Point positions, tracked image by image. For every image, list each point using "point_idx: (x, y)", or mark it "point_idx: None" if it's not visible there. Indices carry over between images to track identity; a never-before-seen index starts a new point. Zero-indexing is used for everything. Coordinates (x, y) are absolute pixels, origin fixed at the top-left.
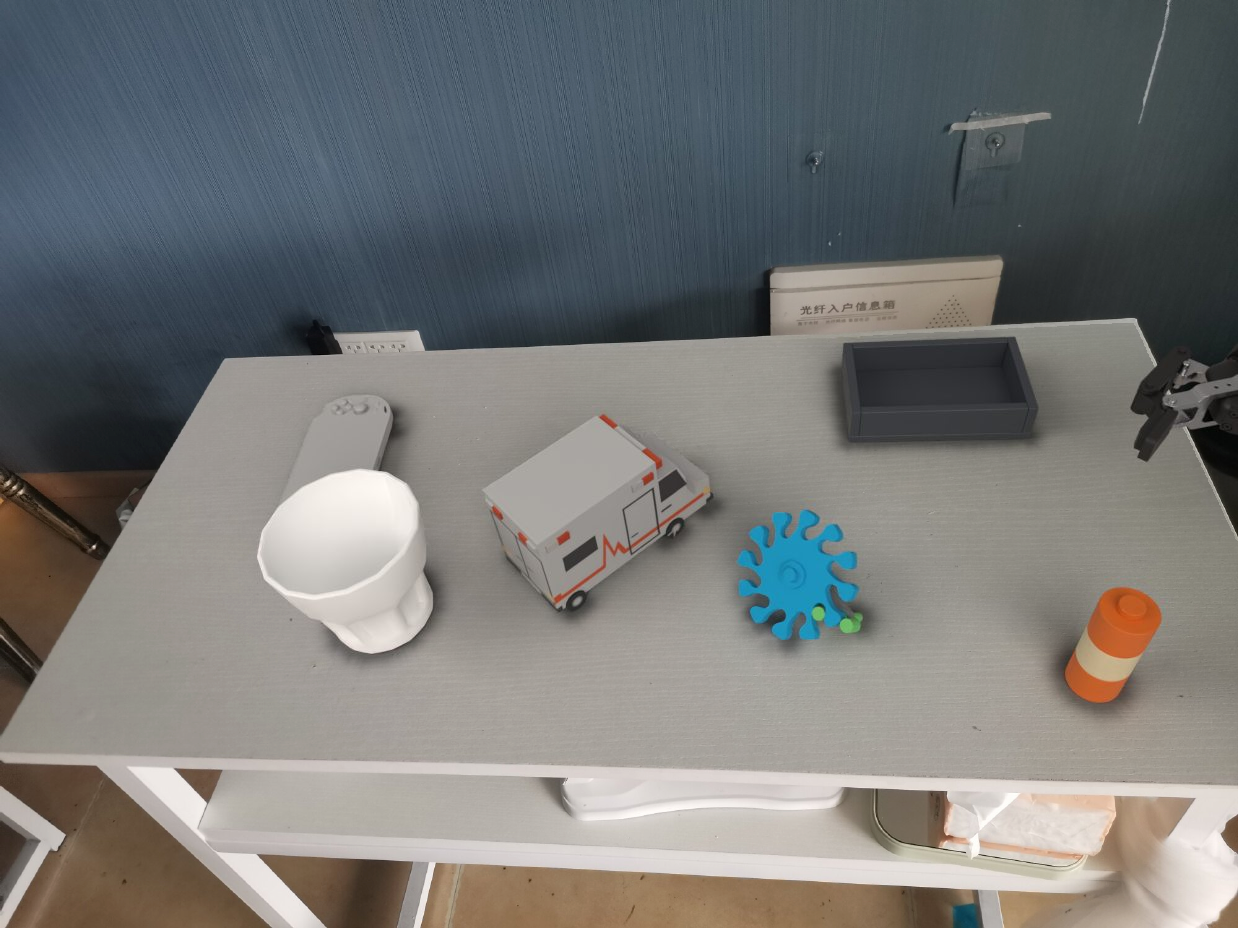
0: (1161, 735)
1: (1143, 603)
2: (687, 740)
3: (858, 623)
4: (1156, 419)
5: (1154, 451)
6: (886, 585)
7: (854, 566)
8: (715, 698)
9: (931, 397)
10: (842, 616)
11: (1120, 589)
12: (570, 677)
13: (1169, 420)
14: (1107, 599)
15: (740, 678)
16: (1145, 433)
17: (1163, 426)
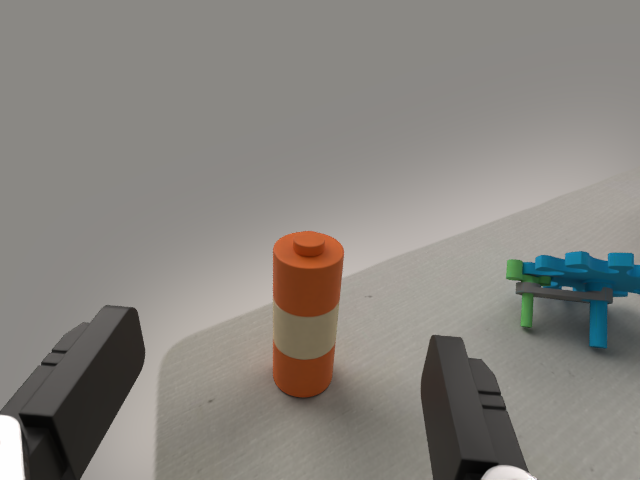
0: (223, 354)
1: (299, 243)
2: (509, 226)
3: (511, 272)
4: (492, 429)
5: (426, 410)
6: (546, 372)
7: (566, 260)
8: (527, 246)
9: None
10: (526, 268)
11: (329, 262)
12: (601, 225)
13: (458, 406)
14: (336, 249)
15: (531, 260)
16: (474, 369)
17: (455, 383)
